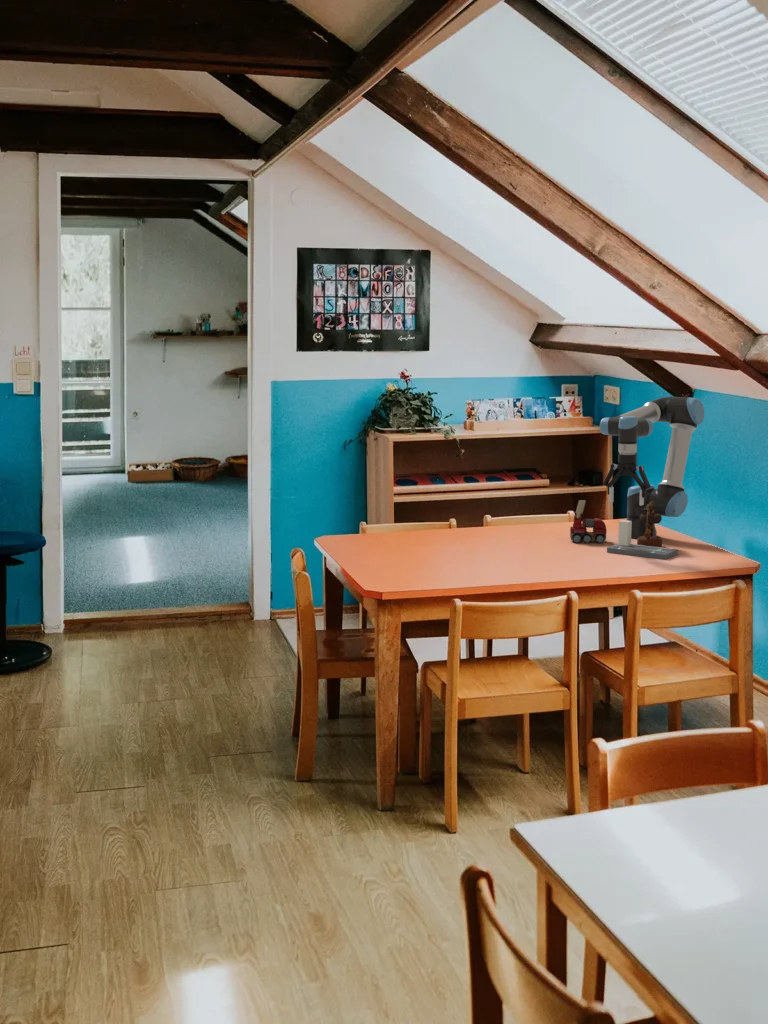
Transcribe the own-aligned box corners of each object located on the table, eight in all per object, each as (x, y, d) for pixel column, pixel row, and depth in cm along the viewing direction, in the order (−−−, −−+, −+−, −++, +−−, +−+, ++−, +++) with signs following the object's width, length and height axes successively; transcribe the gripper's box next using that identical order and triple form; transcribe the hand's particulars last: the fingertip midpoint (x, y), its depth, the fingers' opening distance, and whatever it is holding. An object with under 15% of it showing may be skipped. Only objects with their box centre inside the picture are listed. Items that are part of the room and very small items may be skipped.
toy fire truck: (606, 543, 488) (607, 504, 485) (570, 543, 490) (571, 503, 487) (604, 539, 499) (605, 500, 496) (569, 538, 501) (570, 499, 498)
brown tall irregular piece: (662, 549, 474) (659, 503, 471) (636, 550, 477) (633, 504, 474) (664, 543, 488) (661, 498, 485) (638, 543, 492) (636, 499, 489)
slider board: (619, 547, 480) (620, 541, 479) (677, 554, 464) (678, 548, 464) (606, 552, 469) (607, 546, 469) (665, 559, 454) (665, 553, 454)
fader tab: (621, 544, 475) (622, 519, 473) (632, 545, 472) (633, 520, 470) (616, 546, 471) (617, 521, 469) (627, 547, 468) (628, 522, 466)
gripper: (596, 452, 468) (595, 502, 472) (652, 456, 454) (650, 507, 457) (603, 450, 474) (602, 499, 478) (659, 454, 460) (658, 504, 463)
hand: (626, 503), depth 468 cm, fingers open, 13 cm apart
